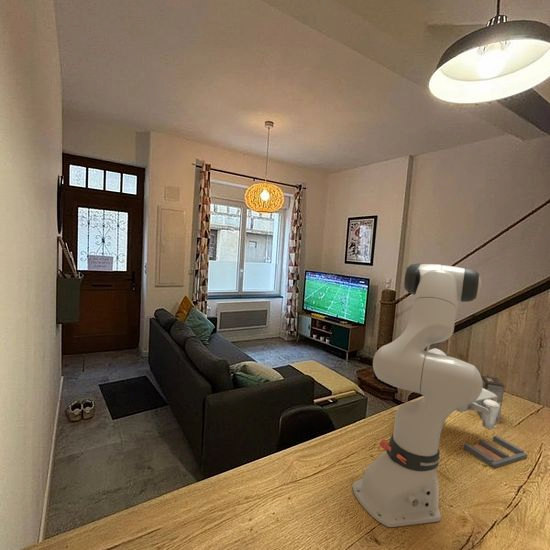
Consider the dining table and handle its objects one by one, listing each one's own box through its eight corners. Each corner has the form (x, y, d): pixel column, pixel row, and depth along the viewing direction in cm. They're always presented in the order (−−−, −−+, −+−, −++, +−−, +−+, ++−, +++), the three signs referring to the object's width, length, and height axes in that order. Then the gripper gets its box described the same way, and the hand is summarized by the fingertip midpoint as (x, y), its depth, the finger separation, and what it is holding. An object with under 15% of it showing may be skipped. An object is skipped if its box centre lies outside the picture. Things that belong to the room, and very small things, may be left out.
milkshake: (501, 432, 102) (506, 403, 101) (483, 429, 103) (487, 400, 102) (494, 425, 107) (499, 396, 106) (477, 422, 108) (481, 394, 107)
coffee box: (475, 410, 138) (480, 374, 136) (492, 413, 136) (497, 377, 134) (481, 420, 129) (487, 382, 128) (500, 424, 127) (505, 385, 126)
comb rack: (493, 468, 98) (494, 462, 98) (463, 448, 108) (463, 443, 108) (526, 457, 105) (527, 452, 105) (495, 440, 115) (496, 435, 115)
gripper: (436, 386, 112) (474, 405, 99) (474, 381, 120) (514, 398, 107) (434, 403, 112) (472, 424, 100) (472, 397, 121) (511, 415, 108)
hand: (494, 410), depth 104 cm, fingers closed on milkshake, 4 cm apart
